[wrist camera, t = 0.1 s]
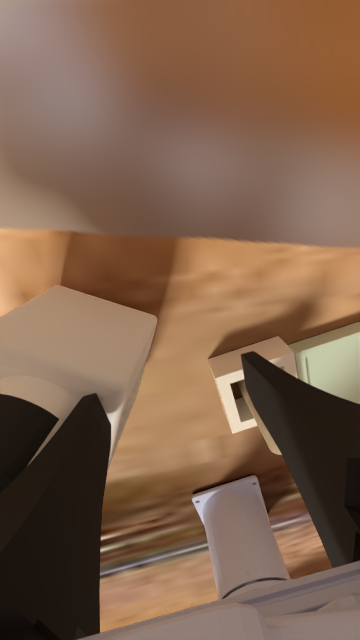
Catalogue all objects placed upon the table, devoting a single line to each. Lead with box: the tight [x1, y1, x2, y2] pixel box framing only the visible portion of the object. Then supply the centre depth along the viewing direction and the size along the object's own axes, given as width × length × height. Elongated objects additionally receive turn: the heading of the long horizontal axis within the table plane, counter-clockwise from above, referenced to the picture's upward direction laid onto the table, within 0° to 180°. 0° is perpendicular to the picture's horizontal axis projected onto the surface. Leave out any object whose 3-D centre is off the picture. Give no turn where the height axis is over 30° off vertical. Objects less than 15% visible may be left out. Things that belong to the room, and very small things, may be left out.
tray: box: [288, 321, 360, 404], centre depth 27 cm, size 14×10×1 cm
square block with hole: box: [208, 336, 298, 433], centre depth 24 cm, size 7×7×3 cm
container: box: [0, 285, 157, 493], centre depth 15 cm, size 8×8×13 cm
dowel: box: [236, 379, 282, 455], centre depth 22 cm, size 3×3×8 cm
